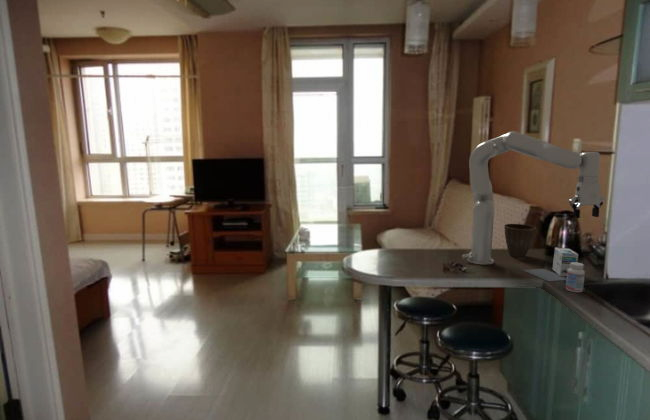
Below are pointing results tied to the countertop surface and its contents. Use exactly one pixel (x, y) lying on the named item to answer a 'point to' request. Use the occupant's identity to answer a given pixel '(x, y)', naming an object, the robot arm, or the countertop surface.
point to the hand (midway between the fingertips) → (585, 217)
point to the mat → (546, 275)
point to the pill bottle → (575, 277)
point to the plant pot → (518, 239)
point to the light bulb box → (563, 260)
